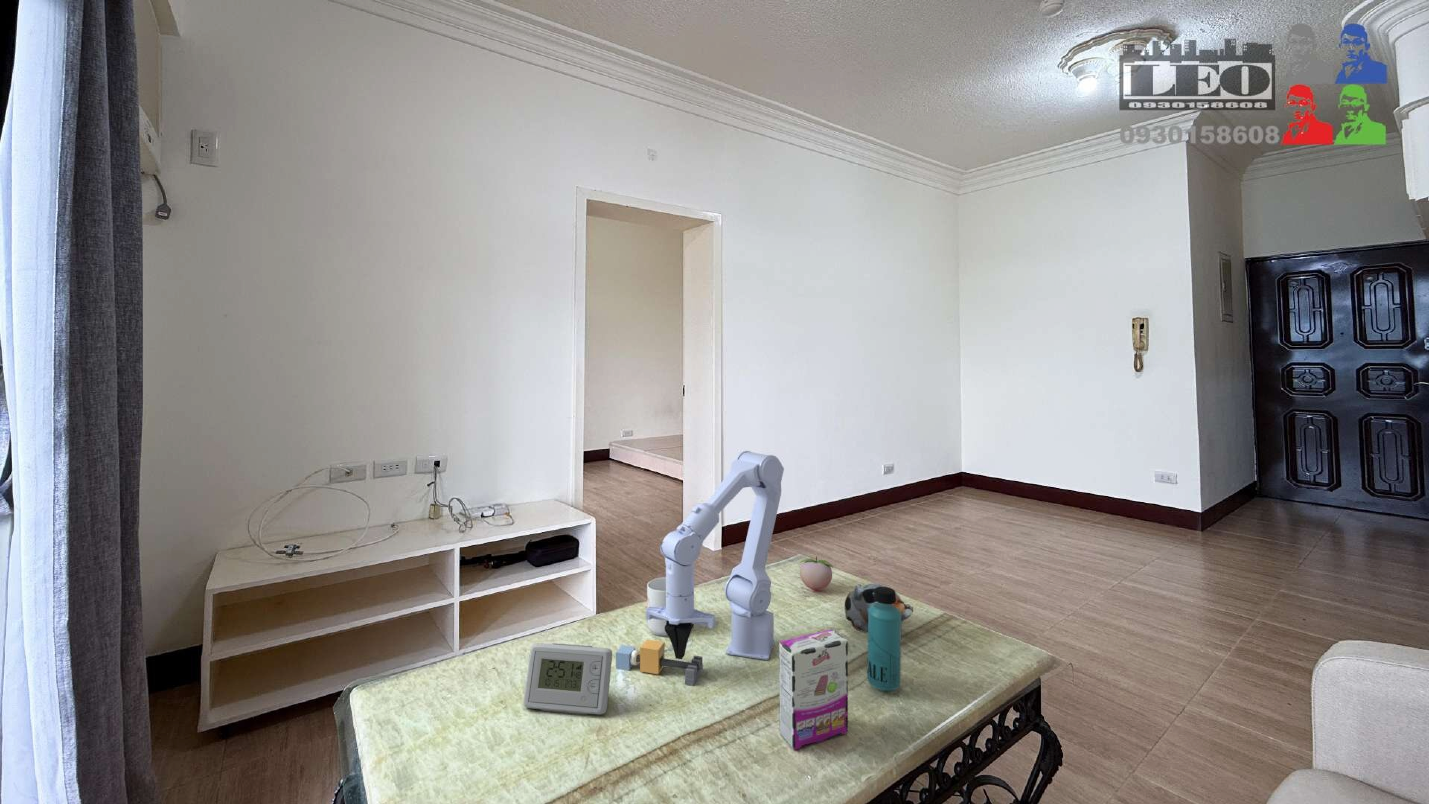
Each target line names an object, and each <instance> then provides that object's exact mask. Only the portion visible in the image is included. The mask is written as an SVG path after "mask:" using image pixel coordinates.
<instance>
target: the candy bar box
mask: <svg viewBox="0 0 1429 804" xmlns="http://www.w3.org/2000/svg"><path fill="white" fill-rule="evenodd" d="M848 641H849V640H848V639H847V638H845V637H844V636H842V635H840V634H839V632H837V631H836V630H834V629H831V628H830V629H826V630H823V631H819V632H818V631H817V632H814V633H811V634H807V635H801V636H797V637H793V638H789V639H785V640H781V641H779V642H778V647H779V649H778V651H779V652H778V654H779V655H778V656H779V657H778V658H779V659H778V661H779V662H778V663H779V667H778V668H779V669H778V670H779V673H778V674H779V676H778V677H779V735H781V737H782V738H783V739H784V740H785V741H786V743H787V744H788V745H789V746H790V748H791V749H792V750H793V751H798V750H801V749H803V748H806V747H810V746H813V745H816V744H818V743H821V742H825V741H827V740H830V739H833V738H836V737H838V736H841V735H845V734H848V733H849V720H848V719H849V690H848V689H849V686H848V685H849V683H848V682H849V672H848V671H849V670H848V669H849V666H848V665H849V663H848V662H849V661H848V660H849V656H848V655H849V650H848V649H849V648H848V647H849V642H848Z"/></svg>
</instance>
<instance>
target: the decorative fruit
mask: <svg viewBox="0 0 1429 804" xmlns="http://www.w3.org/2000/svg"><path fill="white" fill-rule="evenodd" d="M800 563H802V564H801V566H800V568H799V569H800V570H799V577H800V579H801V581H802V583H803V584H804V585H805V587H806V588H809V589H811V590H813V591H814V592H817V591H820V590H823V589H825V588H827V587H828V586H829V585H830V584H831V582H832V579H833V570H832V568H834V566H833V564H831V563H830V562H829V561H827V560H823V559H818V556H815V559H814V558H809V557H808V558H805V559H802V560H801V561H800Z"/></svg>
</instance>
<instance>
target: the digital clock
mask: <svg viewBox="0 0 1429 804" xmlns="http://www.w3.org/2000/svg"><path fill="white" fill-rule="evenodd" d="M612 661H613V651H612V650H611V648H608V647H607V648H606V647H595V646H593V645H582V644H569V643H556V642H555V643H554V642H553V643H542V642H539V643H534V644H532V645H531V647H530V651H529V657H528V665H527V672H526V679H525V686H524V694H523V703H522V704H523V706H524V707H525V708H526V709H532V710H533V709H536V710H540V711H543V712H551V711H552V712H553V711H554V712H553V713H564V714H574V715H585V716H587V715H598V716H599V715H604V714H606V712H607V709H608V703H609V694H610V693H609V691H610V681H611V672H612Z"/></svg>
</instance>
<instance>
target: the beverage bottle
mask: <svg viewBox="0 0 1429 804" xmlns="http://www.w3.org/2000/svg"><path fill="white" fill-rule="evenodd" d="M895 592H896V590H894V589H893V588H892V587H889V586H887V587H877V588H875V591H874V600H875V601H876V602H878V603H875V604H873V605H872V606H871V607H870V608H869V609H868V622H867V623H868V629H867V632H866V634H867V636H866V637H867V646H866V647H867V649H866V652H867V658H866V663H867V670H866V677H867V681H868V683H869V684H870V686H872V687H874V688H876V689H878V690H882V691H894V690H897V689H898V688H899V687H900V684H901V675H902V674H901V673H902V668H901V667H902V659H901V658H902V650H901V640H902V639H901V633H902V631H901V630H902V624H901V616H902V615H901V612H900V611H899V610H898V609H897V608H896V607H895V606H894V605H892V604H894V603H895V602H896V594H895Z"/></svg>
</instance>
